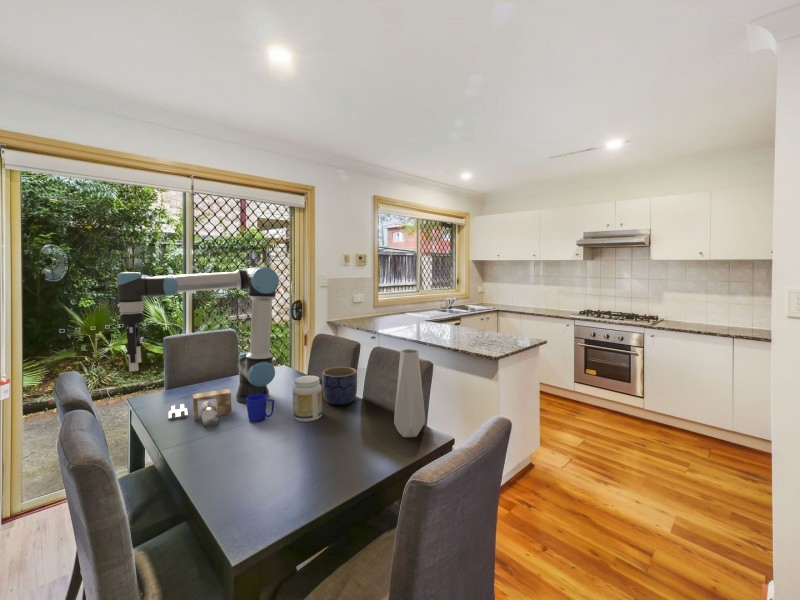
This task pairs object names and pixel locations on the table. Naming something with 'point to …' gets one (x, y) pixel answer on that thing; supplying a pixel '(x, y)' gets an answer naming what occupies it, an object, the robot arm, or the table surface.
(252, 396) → the mug
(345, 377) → the planter
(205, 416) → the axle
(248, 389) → the robot arm
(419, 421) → the vase
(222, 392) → the wooden block with opening
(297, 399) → the supplement tub
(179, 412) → the v block
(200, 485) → the table surface
